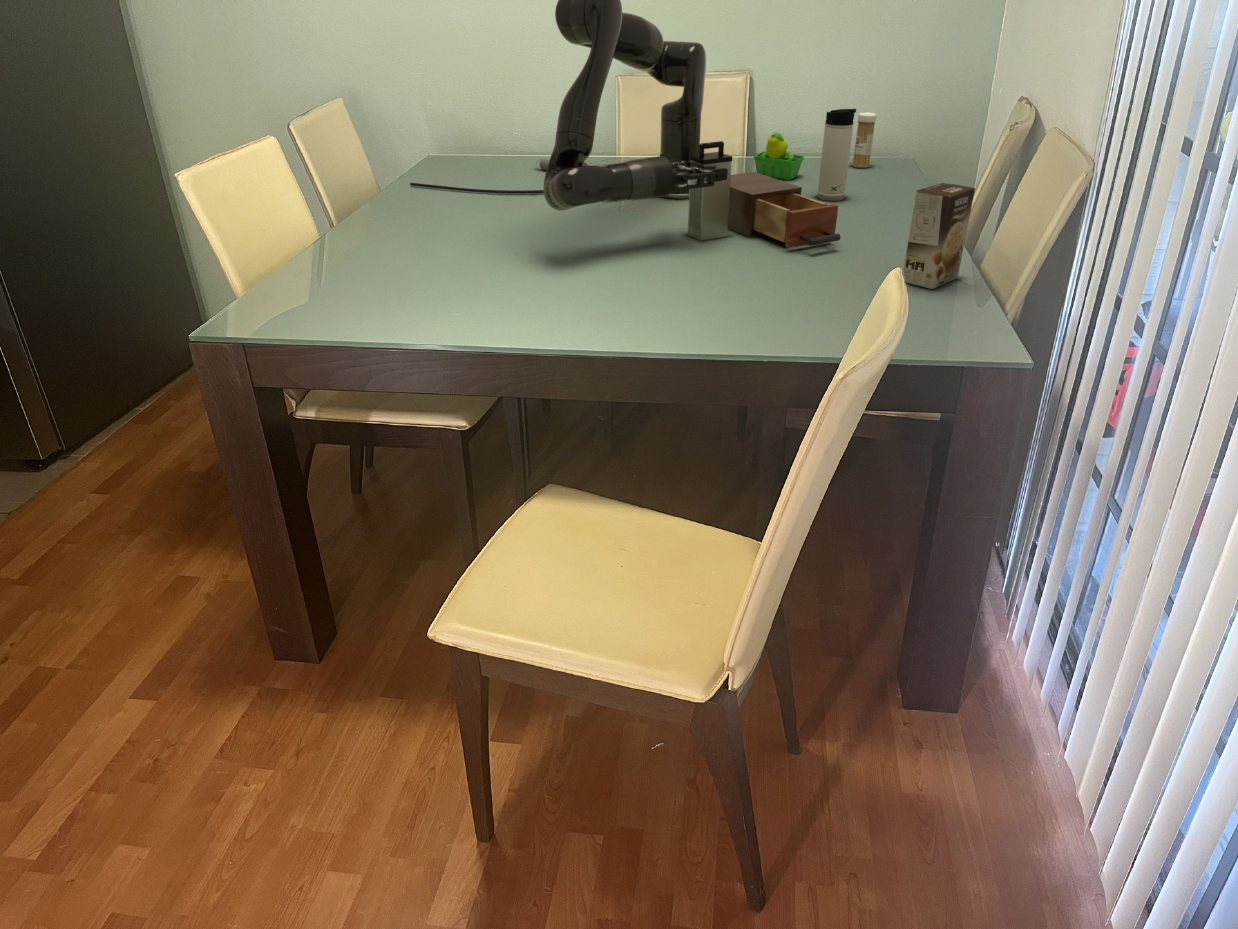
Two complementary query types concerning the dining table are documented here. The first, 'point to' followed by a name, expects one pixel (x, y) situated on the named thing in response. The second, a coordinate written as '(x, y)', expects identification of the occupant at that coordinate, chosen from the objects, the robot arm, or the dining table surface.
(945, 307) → the dining table surface
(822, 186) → the travel mug
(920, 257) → the coffee box
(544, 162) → the kitchen whisk
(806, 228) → the drawer
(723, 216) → the grater
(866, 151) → the sprinkles bottle
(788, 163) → the fruit basket
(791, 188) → the cabinet
